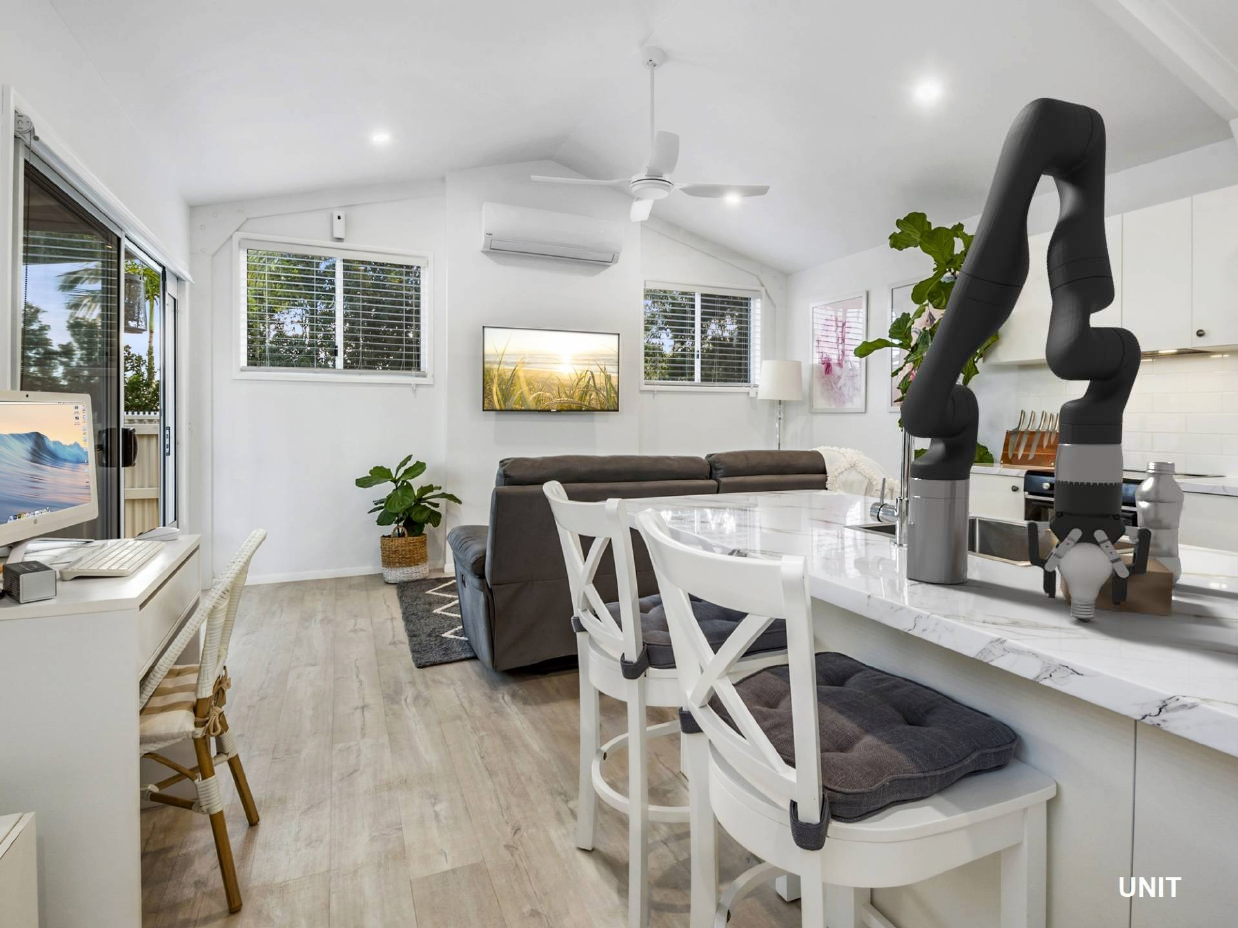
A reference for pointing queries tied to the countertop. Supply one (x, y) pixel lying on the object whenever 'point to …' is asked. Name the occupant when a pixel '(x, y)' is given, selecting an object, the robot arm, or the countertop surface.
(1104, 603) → the riser block
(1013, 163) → the robot arm
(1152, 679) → the countertop surface
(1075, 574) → the lightbulb
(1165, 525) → the plastic bottle
